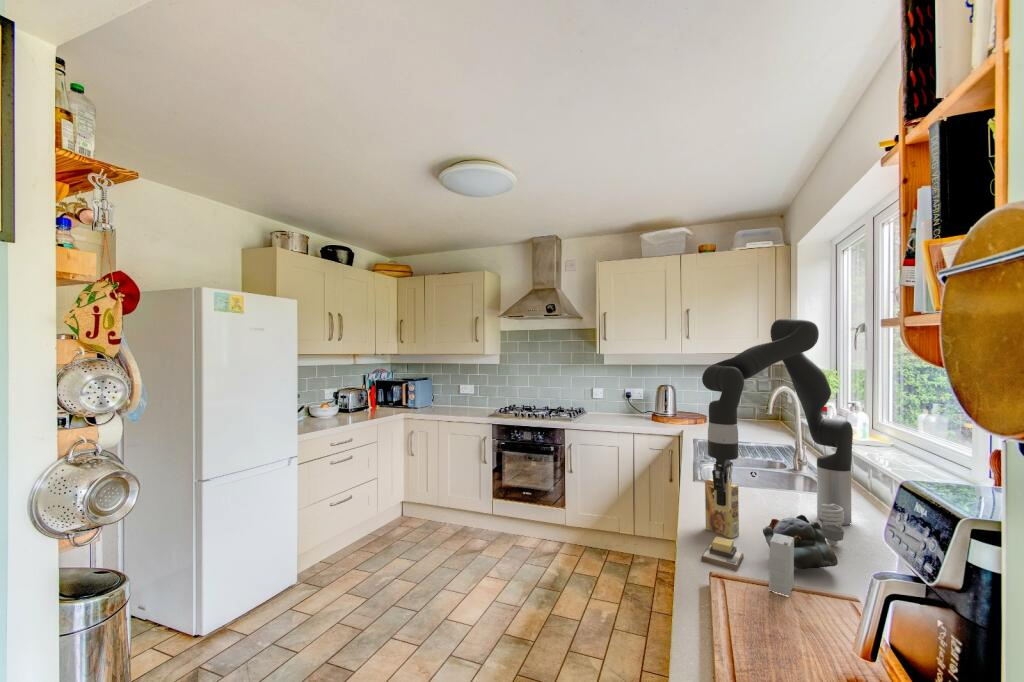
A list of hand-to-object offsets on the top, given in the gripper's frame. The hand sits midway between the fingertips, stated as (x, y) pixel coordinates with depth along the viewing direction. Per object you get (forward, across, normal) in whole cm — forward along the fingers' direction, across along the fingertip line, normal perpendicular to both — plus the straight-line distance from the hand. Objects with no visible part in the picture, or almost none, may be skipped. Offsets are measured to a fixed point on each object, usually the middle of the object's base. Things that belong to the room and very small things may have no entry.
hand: (723, 502), depth 122 cm
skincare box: (+15, -9, -15) cm, 23 cm away
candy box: (+15, +18, +4) cm, 24 cm away
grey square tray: (+15, -1, 0) cm, 15 cm away
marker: (+2, 0, 0) cm, 2 cm away
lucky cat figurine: (+15, +6, -17) cm, 23 cm away
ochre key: (+12, 0, 0) cm, 12 cm away
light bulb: (+15, +27, -24) cm, 39 cm away
